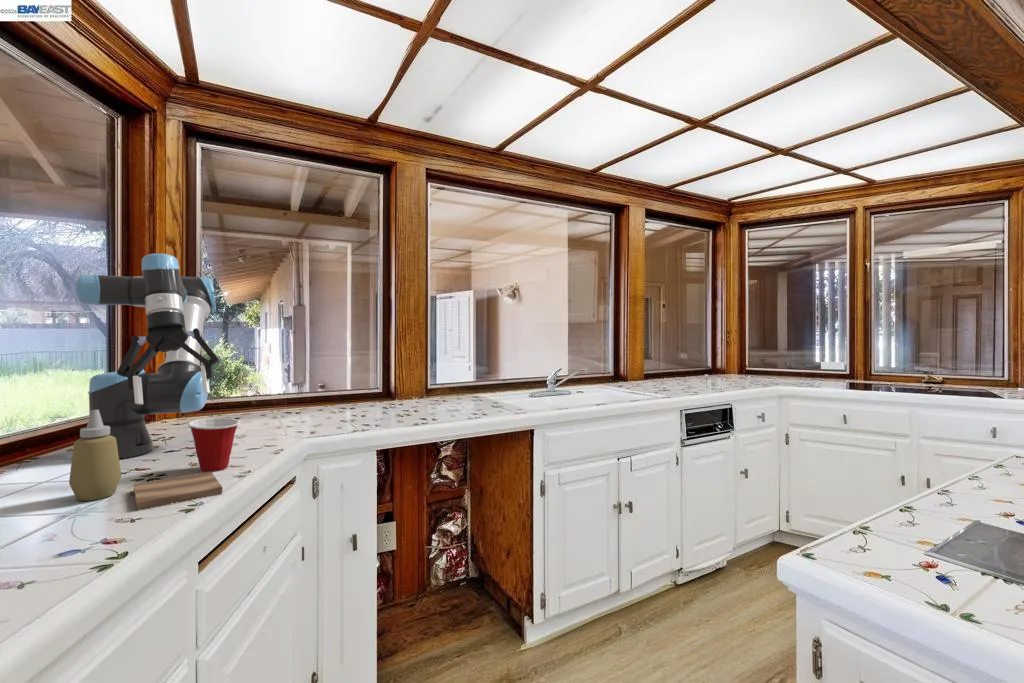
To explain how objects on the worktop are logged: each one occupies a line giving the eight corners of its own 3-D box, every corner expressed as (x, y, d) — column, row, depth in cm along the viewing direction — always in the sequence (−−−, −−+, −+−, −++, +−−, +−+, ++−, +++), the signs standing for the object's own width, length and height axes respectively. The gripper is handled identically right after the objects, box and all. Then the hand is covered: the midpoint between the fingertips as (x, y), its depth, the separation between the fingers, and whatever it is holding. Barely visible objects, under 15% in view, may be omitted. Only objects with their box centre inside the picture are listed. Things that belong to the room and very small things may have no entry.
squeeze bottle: (76, 506, 89) (75, 415, 89) (63, 498, 94) (61, 411, 93) (128, 494, 96) (127, 409, 96) (113, 487, 101) (112, 405, 100)
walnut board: (133, 491, 98) (133, 484, 98) (211, 477, 108) (211, 471, 107) (136, 510, 88) (136, 502, 88) (222, 493, 97) (222, 486, 97)
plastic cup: (215, 476, 108) (215, 426, 108) (177, 473, 111) (176, 424, 110) (250, 463, 119) (250, 417, 119) (214, 461, 121) (214, 416, 121)
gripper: (94, 316, 106) (101, 406, 102) (219, 303, 115) (230, 386, 112) (109, 325, 113) (116, 410, 109) (226, 313, 122) (236, 390, 119)
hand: (173, 398), depth 110 cm, fingers open, 13 cm apart
